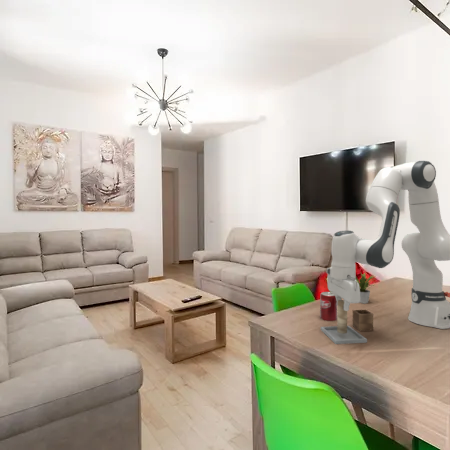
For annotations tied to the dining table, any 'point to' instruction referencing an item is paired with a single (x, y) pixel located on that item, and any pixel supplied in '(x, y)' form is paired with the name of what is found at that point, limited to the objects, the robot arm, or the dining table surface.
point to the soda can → (328, 306)
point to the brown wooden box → (362, 320)
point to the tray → (343, 335)
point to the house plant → (364, 288)
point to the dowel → (341, 318)
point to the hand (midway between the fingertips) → (342, 308)
